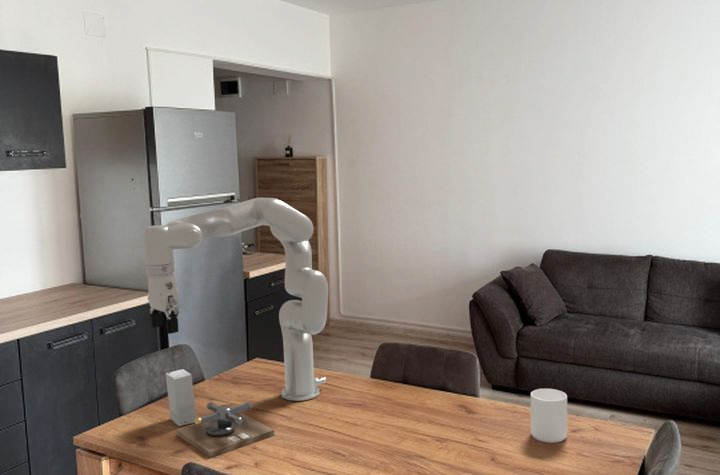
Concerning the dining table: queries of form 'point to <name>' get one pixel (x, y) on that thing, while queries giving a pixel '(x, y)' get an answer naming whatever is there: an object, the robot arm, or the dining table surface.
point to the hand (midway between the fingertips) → (164, 329)
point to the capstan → (222, 419)
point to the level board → (219, 445)
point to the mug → (549, 415)
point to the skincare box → (181, 397)
